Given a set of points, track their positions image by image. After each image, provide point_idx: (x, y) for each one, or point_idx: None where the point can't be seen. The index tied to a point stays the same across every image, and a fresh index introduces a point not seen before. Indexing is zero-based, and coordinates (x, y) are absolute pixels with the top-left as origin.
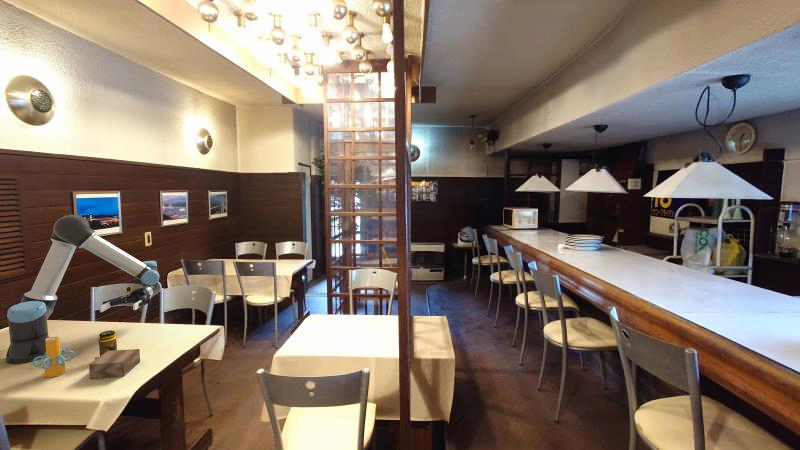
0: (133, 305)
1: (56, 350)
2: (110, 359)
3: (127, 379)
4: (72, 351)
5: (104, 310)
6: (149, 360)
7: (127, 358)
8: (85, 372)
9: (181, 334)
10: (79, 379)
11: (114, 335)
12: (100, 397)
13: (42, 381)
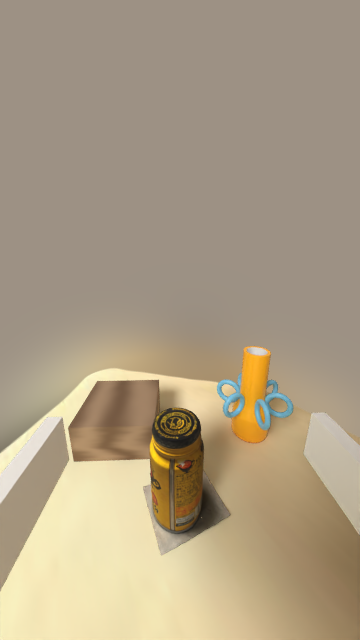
0: (60, 423)
1: (241, 375)
2: (126, 390)
3: None
4: (226, 400)
5: (327, 487)
6: None
7: (92, 390)
8: None
9: None
10: (178, 407)
11: (152, 437)
12: (119, 371)
13: None
